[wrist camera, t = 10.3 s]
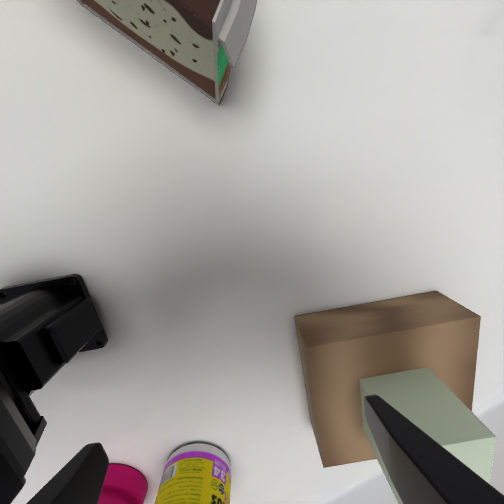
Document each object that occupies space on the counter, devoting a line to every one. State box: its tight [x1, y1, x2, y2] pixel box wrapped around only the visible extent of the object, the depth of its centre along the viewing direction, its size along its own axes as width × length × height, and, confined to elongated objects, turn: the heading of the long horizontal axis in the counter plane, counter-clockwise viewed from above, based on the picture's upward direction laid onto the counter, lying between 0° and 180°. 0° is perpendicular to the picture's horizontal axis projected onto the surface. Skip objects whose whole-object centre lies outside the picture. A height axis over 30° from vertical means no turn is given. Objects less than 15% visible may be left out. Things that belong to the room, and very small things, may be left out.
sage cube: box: [359, 367, 496, 504], centre depth 16 cm, size 5×5×5 cm
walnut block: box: [295, 291, 481, 468], centre depth 20 cm, size 12×12×4 cm
